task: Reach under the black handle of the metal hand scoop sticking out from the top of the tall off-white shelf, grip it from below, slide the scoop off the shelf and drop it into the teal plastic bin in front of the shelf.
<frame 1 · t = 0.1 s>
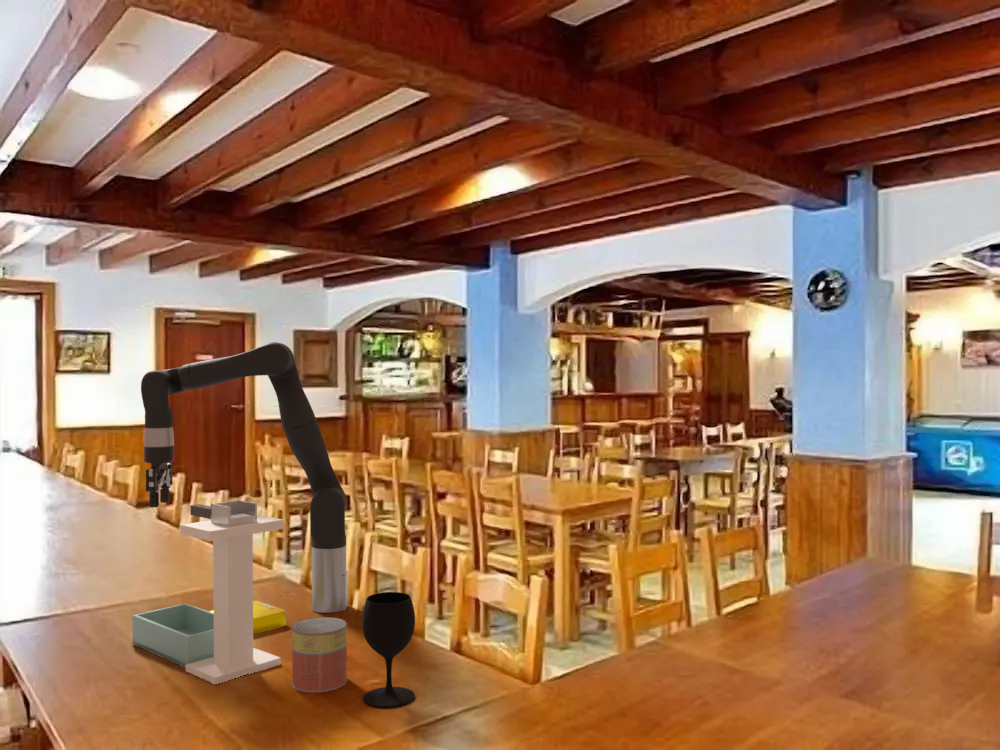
hand: (159, 504, 228), 29 cm above the table, tool pointing down, fingers open, 8 cm apart
scoop: (225, 520, 187), point 32 cm above the table, touching shelf
bin: (186, 648, 198), on the table
wine glass: (389, 699, 168), on the table
shelf: (233, 668, 185), on the table
element tile: (247, 628, 216), on the table
canned food: (319, 683, 177), on the table
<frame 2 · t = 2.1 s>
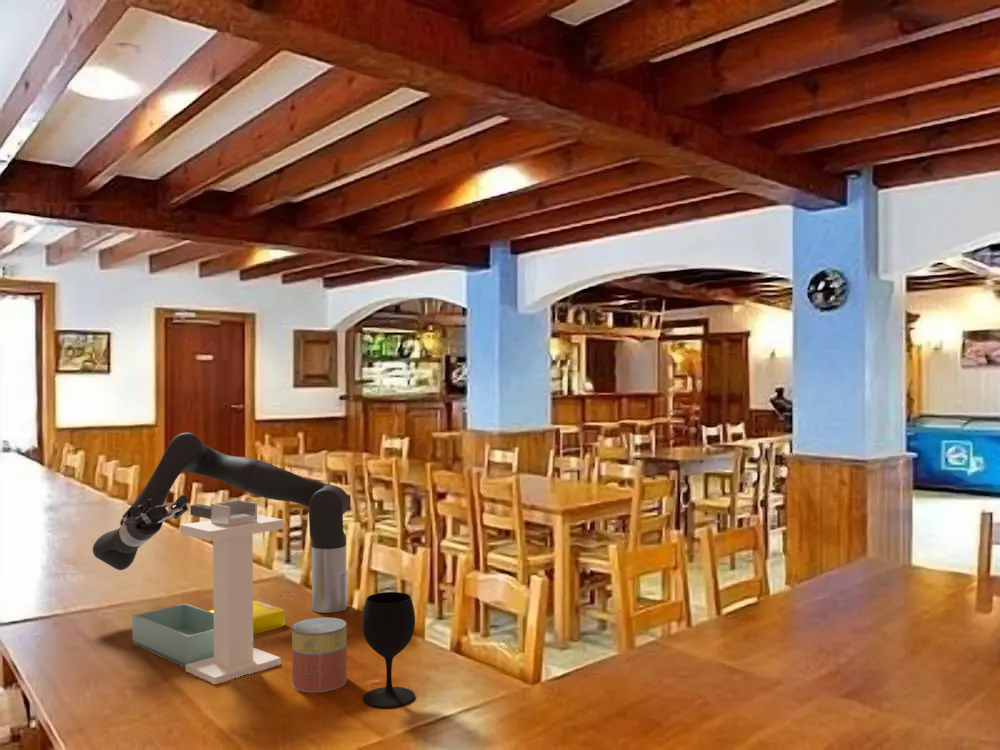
hand: (168, 500, 204), 34 cm above the table, tool pointing upward, fingers open, 8 cm apart
nothing on the table moved.
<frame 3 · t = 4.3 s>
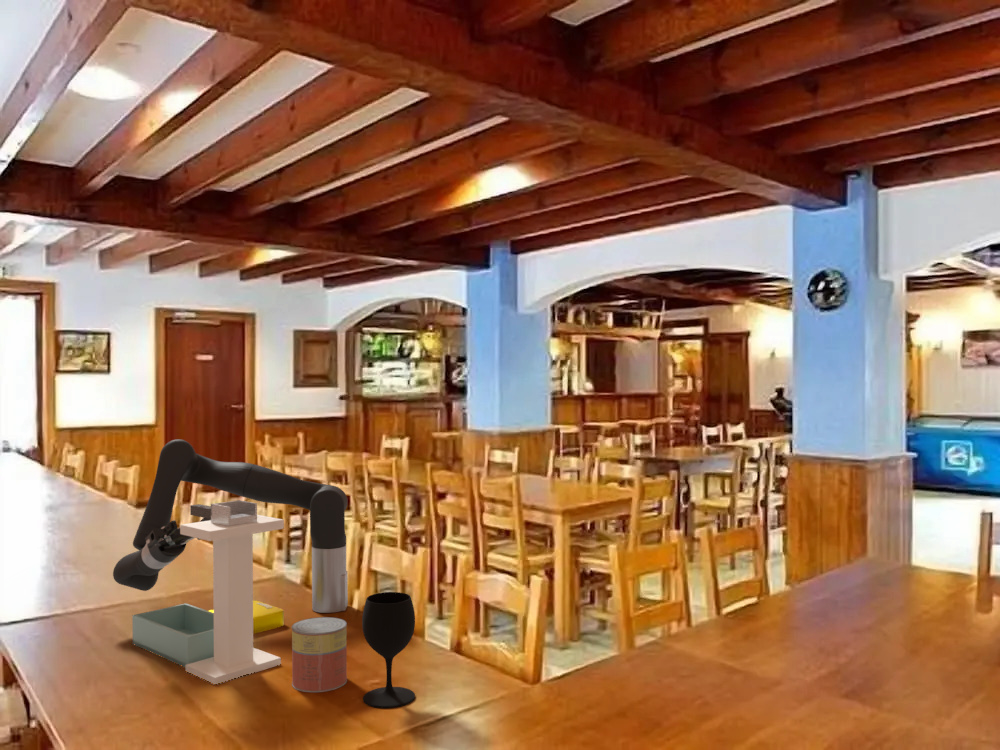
hand: (192, 521, 196), 30 cm above the table, tool pointing upward, fingers open, 8 cm apart
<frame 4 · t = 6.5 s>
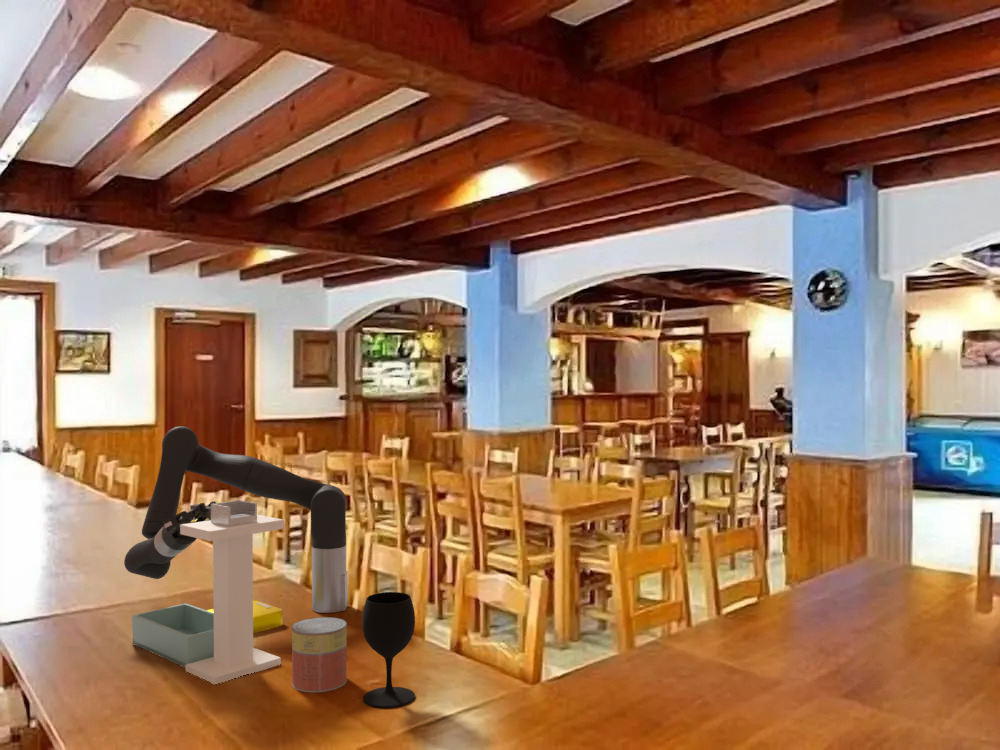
hand: (209, 506, 191), 35 cm above the table, tool pointing upward, fingers closed on scoop, 2 cm apart
scoop: (225, 520, 187), point 32 cm above the table, touching gripper, shelf
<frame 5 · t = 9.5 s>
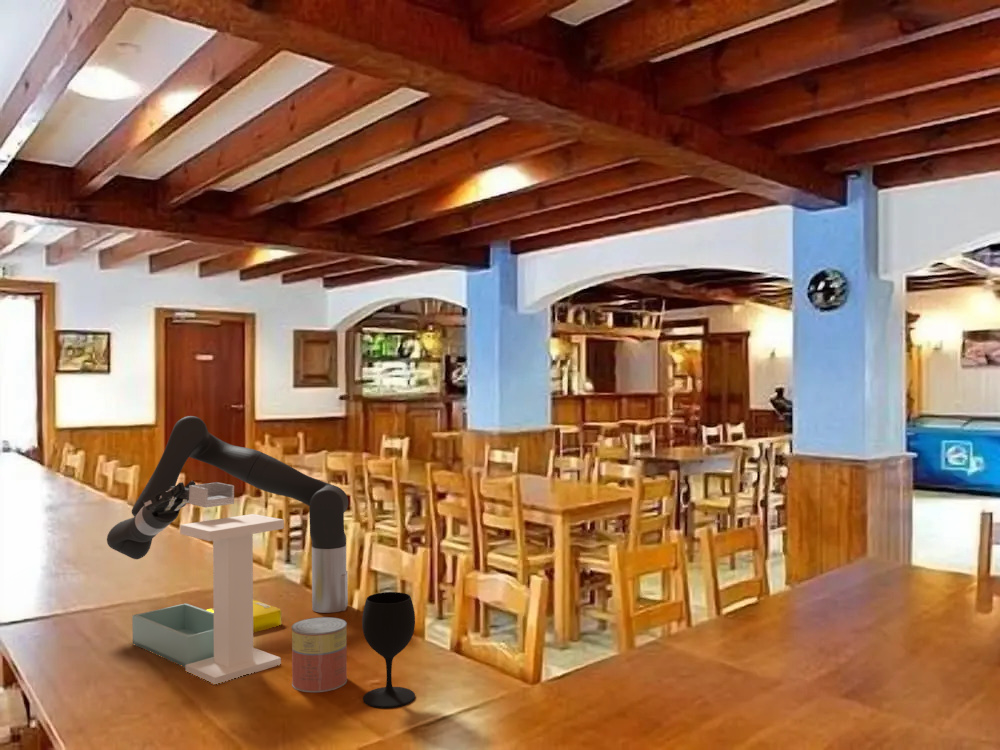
hand: (188, 485, 197), 38 cm above the table, tool pointing upward, fingers closed on scoop
scoop: (203, 501, 193), point 35 cm above the table, touching gripper
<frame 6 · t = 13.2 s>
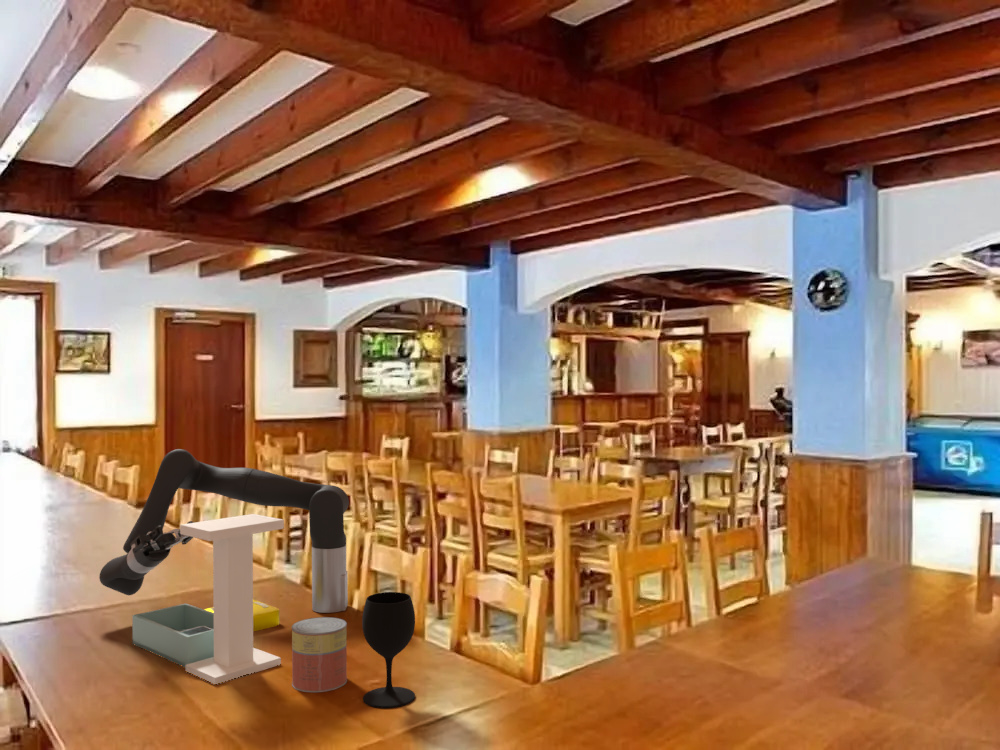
hand: (176, 527, 201), 28 cm above the table, tool pointing upward, fingers open, 7 cm apart
scoop: (189, 646, 197), point 1 cm above the table, touching bin
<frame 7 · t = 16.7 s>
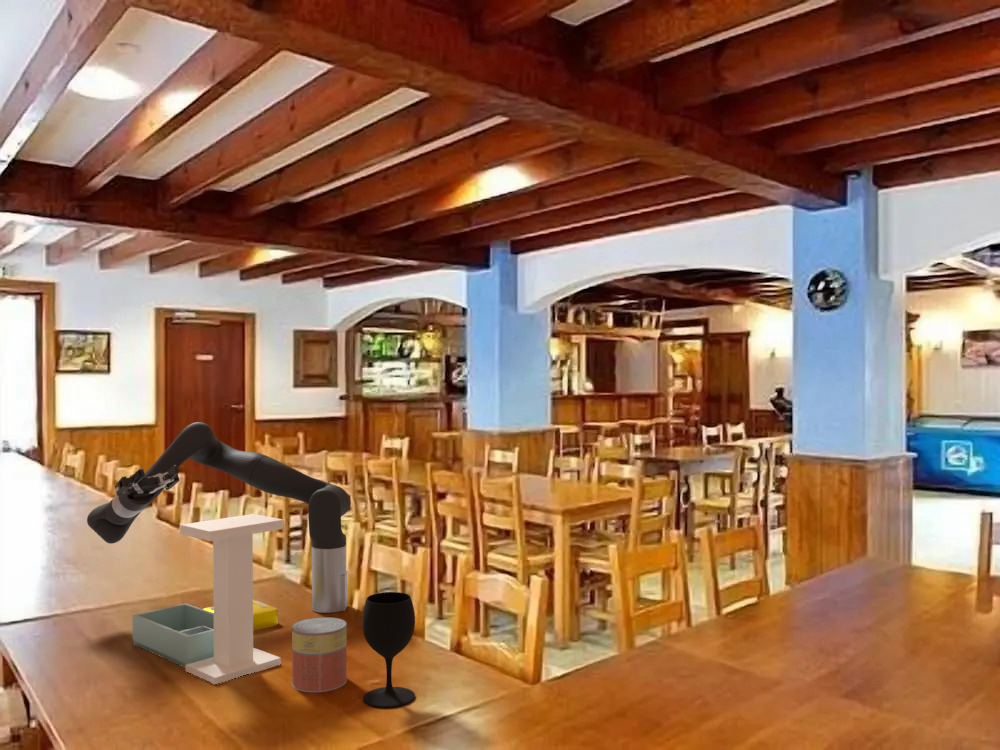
hand: (159, 470, 206), 41 cm above the table, tool pointing upward, fingers open, 8 cm apart
at the end: scoop inside the target area on the bin (1.9 cm from its centre), point 1.0 cm above the bin's base; scoop touching bin; the gripper is holding nothing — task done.
